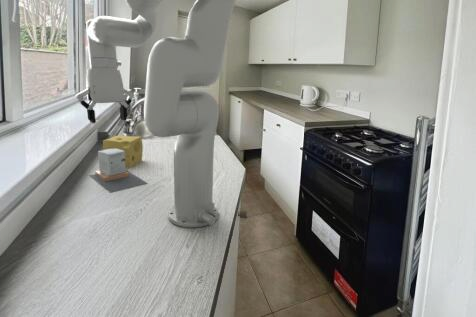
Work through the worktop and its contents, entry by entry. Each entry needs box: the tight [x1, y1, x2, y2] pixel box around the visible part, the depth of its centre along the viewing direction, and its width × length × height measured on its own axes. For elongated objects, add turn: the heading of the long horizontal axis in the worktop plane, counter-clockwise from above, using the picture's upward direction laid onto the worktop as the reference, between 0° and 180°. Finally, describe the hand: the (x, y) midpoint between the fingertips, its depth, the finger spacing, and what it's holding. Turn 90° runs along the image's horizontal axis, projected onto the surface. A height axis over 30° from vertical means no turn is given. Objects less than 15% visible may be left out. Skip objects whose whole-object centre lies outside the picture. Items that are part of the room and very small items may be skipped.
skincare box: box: [97, 148, 127, 176], centre depth 101 cm, size 6×6×7 cm
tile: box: [94, 169, 129, 181], centre depth 102 cm, size 1×8×8 cm
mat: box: [88, 169, 149, 194], centre depth 99 cm, size 18×12×1 cm, turn 44°
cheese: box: [102, 134, 144, 169], centre depth 115 cm, size 10×11×10 cm
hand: (108, 121), depth 96 cm, fingers open, 9 cm apart
